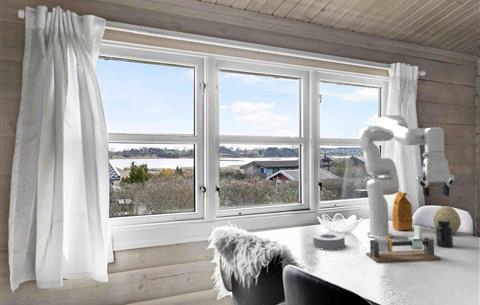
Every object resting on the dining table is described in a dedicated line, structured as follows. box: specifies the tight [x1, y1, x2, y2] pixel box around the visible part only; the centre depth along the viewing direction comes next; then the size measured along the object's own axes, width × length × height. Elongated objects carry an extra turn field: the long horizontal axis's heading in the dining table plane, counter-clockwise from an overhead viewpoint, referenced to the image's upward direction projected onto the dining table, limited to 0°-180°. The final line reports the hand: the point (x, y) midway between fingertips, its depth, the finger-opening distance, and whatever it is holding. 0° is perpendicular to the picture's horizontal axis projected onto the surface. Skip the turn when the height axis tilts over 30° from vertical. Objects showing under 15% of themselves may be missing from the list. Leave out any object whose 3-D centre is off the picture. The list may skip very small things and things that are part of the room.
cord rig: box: [365, 237, 442, 264], centre depth 158 cm, size 12×27×9 cm, turn 92°
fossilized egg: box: [433, 205, 462, 234], centre depth 198 cm, size 13×13×15 cm
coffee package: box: [392, 190, 414, 232], centre depth 214 cm, size 10×12×22 cm
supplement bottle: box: [435, 220, 454, 248], centre depth 174 cm, size 7×7×12 cm
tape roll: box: [312, 232, 346, 250], centre depth 182 cm, size 15×15×5 cm
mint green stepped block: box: [407, 224, 424, 250], centre depth 158 cm, size 4×4×9 cm
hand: (436, 195), depth 159 cm, fingers open, 8 cm apart
